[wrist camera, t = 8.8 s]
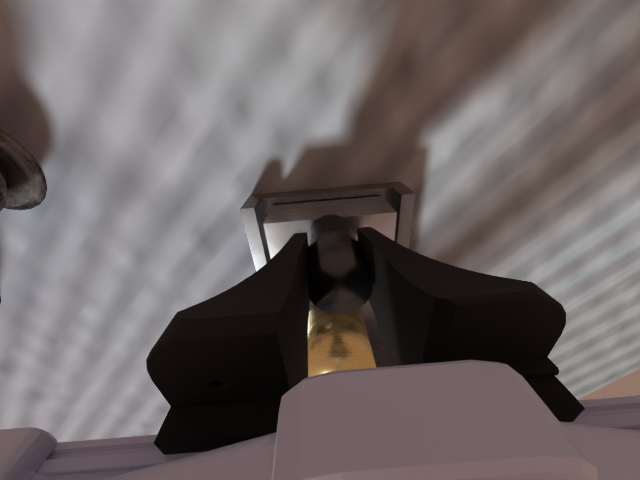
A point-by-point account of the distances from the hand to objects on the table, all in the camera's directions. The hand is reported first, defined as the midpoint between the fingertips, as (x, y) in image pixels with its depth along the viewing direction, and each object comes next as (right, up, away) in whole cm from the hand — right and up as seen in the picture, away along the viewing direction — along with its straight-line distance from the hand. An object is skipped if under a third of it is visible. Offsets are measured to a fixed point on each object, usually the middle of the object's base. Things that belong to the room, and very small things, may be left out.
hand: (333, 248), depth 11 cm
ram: (0, +1, +4) cm, 4 cm away
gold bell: (+1, -7, +9) cm, 11 cm away
